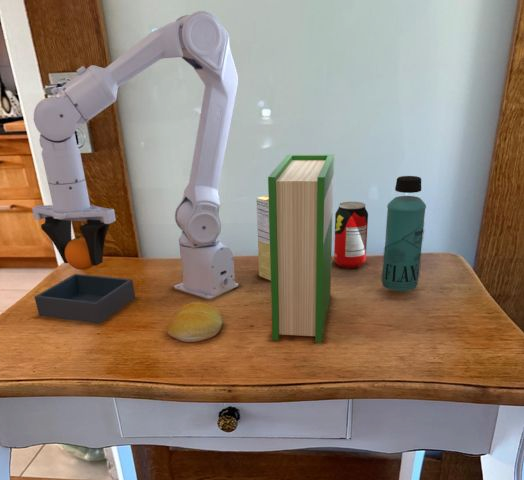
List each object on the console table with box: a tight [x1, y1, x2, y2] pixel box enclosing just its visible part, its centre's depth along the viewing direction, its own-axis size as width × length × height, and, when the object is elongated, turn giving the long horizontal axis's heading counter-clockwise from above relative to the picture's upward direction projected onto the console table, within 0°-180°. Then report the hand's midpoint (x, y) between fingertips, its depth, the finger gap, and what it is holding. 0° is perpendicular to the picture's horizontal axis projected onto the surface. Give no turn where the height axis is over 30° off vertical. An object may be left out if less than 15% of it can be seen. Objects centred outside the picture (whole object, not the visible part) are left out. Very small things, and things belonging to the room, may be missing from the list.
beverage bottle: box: [380, 175, 427, 292], centre depth 94 cm, size 6×7×20 cm
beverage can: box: [333, 201, 369, 269], centre depth 109 cm, size 6×6×12 cm
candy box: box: [256, 194, 271, 282], centre depth 105 cm, size 9×4×15 cm, turn 129°
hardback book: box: [267, 154, 335, 343], centre depth 85 cm, size 18×7×24 cm, turn 170°
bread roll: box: [166, 301, 224, 343], centre depth 86 cm, size 8×9×4 cm
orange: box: [65, 235, 94, 271], centre depth 93 cm, size 5×5×6 cm
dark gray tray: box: [34, 273, 136, 325], centre depth 96 cm, size 12×11×4 cm
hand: (83, 262), depth 94 cm, fingers closed on orange, 5 cm apart
